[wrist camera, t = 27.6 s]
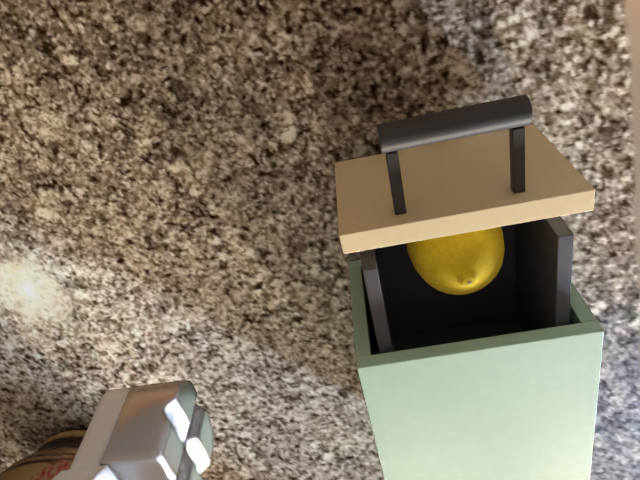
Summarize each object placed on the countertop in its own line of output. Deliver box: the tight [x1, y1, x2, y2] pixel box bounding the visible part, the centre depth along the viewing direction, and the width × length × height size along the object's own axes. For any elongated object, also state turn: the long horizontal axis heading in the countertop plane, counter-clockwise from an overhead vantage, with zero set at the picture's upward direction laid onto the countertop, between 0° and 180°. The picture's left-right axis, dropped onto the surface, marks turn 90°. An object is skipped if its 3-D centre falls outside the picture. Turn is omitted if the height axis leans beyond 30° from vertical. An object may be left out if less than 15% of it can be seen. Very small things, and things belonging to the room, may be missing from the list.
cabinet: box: [348, 260, 604, 480], centre depth 39 cm, size 17×14×11 cm
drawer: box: [335, 95, 595, 354], centre depth 33 cm, size 20×13×9 cm, turn 12°
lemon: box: [406, 227, 505, 295], centre depth 32 cm, size 6×6×8 cm
